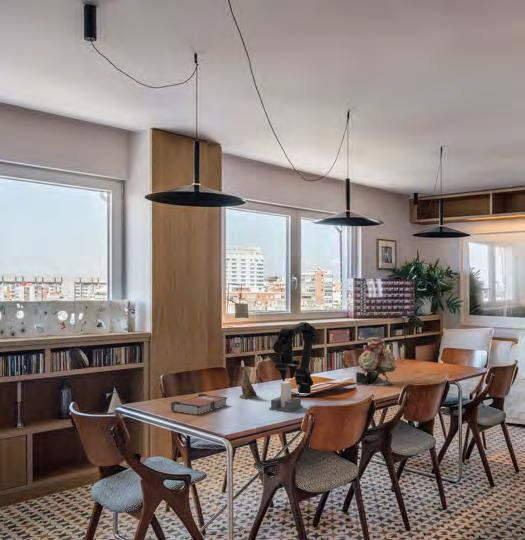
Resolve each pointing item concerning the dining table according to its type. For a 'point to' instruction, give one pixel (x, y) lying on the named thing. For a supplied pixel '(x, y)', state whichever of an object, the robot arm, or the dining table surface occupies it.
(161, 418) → the dining table surface
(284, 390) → the grey block
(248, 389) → the worn brown figurine
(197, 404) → the book
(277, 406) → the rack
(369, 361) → the rose bouquet
